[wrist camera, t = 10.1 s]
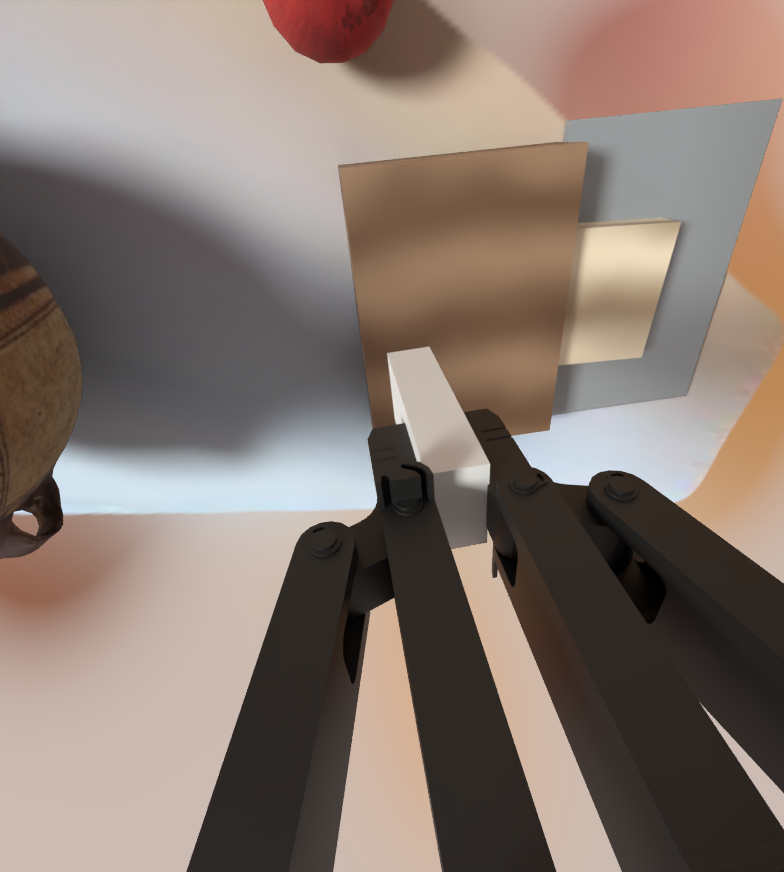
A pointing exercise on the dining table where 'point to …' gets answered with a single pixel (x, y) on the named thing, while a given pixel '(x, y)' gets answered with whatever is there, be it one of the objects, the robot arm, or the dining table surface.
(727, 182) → the mat
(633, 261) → the tile
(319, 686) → the robot arm
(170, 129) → the dining table surface
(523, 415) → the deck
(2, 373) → the vase
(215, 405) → the dining table surface
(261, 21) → the dining table surface
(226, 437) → the dining table surface
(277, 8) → the onion
